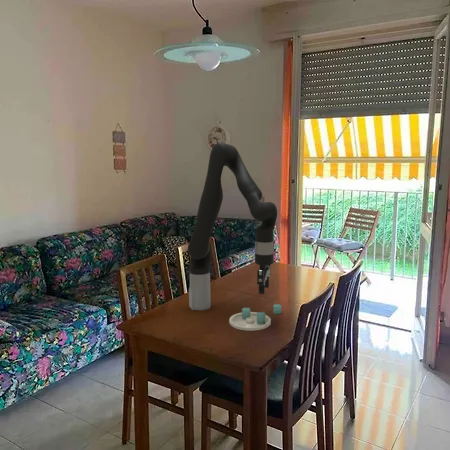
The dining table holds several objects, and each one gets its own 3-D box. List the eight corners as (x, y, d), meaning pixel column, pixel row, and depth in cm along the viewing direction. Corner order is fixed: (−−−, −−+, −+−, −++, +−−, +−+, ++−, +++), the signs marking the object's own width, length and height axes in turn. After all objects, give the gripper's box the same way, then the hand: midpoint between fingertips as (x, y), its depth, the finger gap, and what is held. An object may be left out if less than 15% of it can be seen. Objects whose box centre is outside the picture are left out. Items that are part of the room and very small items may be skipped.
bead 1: (243, 320, 178) (243, 311, 177) (240, 317, 181) (240, 308, 181) (251, 319, 179) (251, 310, 178) (248, 316, 182) (248, 307, 182)
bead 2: (260, 325, 173) (260, 315, 172) (255, 322, 176) (255, 313, 175) (267, 323, 174) (267, 314, 174) (261, 320, 177) (261, 311, 177)
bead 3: (275, 316, 184) (275, 307, 183) (272, 313, 187) (272, 304, 187) (282, 315, 185) (282, 306, 184) (279, 312, 188) (279, 303, 188)
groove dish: (237, 334, 166) (237, 329, 165) (224, 318, 182) (224, 313, 181) (277, 329, 171) (277, 323, 170) (261, 314, 187) (261, 309, 186)
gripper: (269, 256, 164) (269, 297, 167) (276, 248, 177) (276, 286, 180) (250, 255, 166) (250, 295, 169) (259, 247, 180) (258, 284, 182)
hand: (263, 290), depth 175 cm, fingers open, 8 cm apart
